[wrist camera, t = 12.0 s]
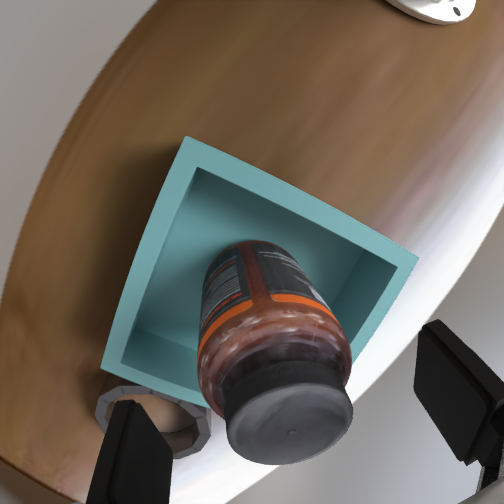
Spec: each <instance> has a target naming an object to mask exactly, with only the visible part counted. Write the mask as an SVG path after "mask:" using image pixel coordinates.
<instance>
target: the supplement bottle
mask: <svg viewBox="0 0 504 504" xmlns="http://www.w3.org/2000/svg"><path fill="white" fill-rule="evenodd" d="M351 367H352V352H351V347H350V343H349V341H348V339H347V336H346V334H345V332H344V330H343V329H342V327H341V326H340V324H339V323H338V321H337V320H336V318H335V316H334V314H333V313H332V311H331V310H330V308H329V307H328V306H327V304H326V303H325V301H324V300H323V298H322V297H321V295H320V294H319V292H318V291H317V290H316V288H315V287H314V285H313V284H312V282H311V281H310V279H309V278H308V277H307V275H306V274H305V272H304V271H303V270H302V268H301V267H300V265H299V264H298V262H297V261H296V260H295V259H294V258H293V257H292V255H290V253H288V252H287V251H286V250H285V249H283V248H281V247H280V246H278V245H276V244H273V243H271V242H267V241H259V240H252V241H244V242H240V243H237V244H234V245H232V246H230V247H228V248H226V249H225V250H223V251H222V252H221V253H220V254H219V255H218V256H217V257H216V258H215V259H214V260H213V261H212V263H211V264H210V266H209V268H208V270H207V271H206V274H205V278H204V282H203V287H202V301H201V313H200V324H199V339H198V351H197V376H198V382H199V387H200V390H201V393H202V395H203V398H204V399H205V401H206V403H207V404H208V405H209V406H210V407H211V409H212V410H213V411H214V412H215V413H216V414H218V415H219V416H220V417H221V418H223V419H224V420H225V422H226V432H227V438H228V441H229V444H230V445H231V447H232V449H233V450H234V451H235V452H236V453H237V454H239V455H240V456H242V457H243V458H245V459H248V460H250V461H253V462H256V463H260V464H265V465H284V464H293V463H297V462H301V461H304V460H307V459H311V458H313V457H315V456H317V455H319V454H321V453H323V452H325V451H326V450H328V449H329V448H331V447H332V446H334V445H335V444H336V443H337V441H339V440H340V439H341V438H342V436H343V435H344V434H345V433H346V432H347V430H348V428H349V426H350V424H351V422H352V419H353V417H352V416H353V407H352V404H351V401H350V399H349V397H348V395H347V393H346V390H345V386H346V384H347V382H348V379H349V376H350V373H351Z"/></svg>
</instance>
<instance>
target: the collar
mask: <svg viewBox="0 0 504 504" xmlns="http://www.w3.org/2000/svg"><path fill="white" fill-rule="evenodd" d="M125 394H152V395H155V396H158V397H160V398H163V399H166V400H169V401H172V402H175V403H178V404H179V405H180V406H181V407H182V408H184V409H185V410H186V411H187V412H188V413H190V414H191V415H192V416H193V417H194V418H196V421H195V423H194V424H193V426H190V427H188V428H186V429H184V430H181V431H179V432H177V433H161V435H162V436H163V438H164V439H165V440H166V442H167V443H168V444H169V446H170V447H171V449H172V452H173V459H181V458H183V457H186V456H189V455H191V454H194V453H197V452H199V451H201V449H202V448H203V447H204V445H205V444H206V442H207V441H208V439H209V438H210V436H211V411H210V408H207V407H204V406H201V405H197V404H194V403H191V402H188V401H185V400H182V399H179V398H176V397H173V396H170V395H167V394H164V393H161V392H159V391H156V390H153V389H150V388H148V387H145V386H143V385H140V384H137V383H135V382H132V381H130V380H127V379H125V378H122V377H120V376H118V375H115V374H113V373H112V374H110V375H109V376H107V378H106V381H105V383H104V386H103V388H102V391H101V393H100V395H99V398H98V402H97V407H96V411H95V417H96V419H97V421H98V423H99V425H100V427H101V428H102V430H103V432H104V434H105V433H106V430H107V427H108V424H109V421H110V418H111V414H112V411H113V408H114V405H115V403H114V401H113V400H115V399H117V398H119V397H121V396H123V395H125Z"/></svg>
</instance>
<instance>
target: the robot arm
mask: <svg viewBox="0 0 504 504" xmlns="http://www.w3.org/2000/svg"><path fill="white" fill-rule="evenodd" d="M386 1H388V2H389V3H390V4H392V5H393V6H395V7H397V8H398V9H400V10H402V11H403V12H405V13H407V14H409V15H411V16H413V17H416V18H418V19H420V20H423V21H426V22H429V23H433V24H440V25H448V24H455V23H457V22H460V21H463V20H464V19H466V18H467V17H469V16H470V15H471V13H472V11H473V10H474V7H475V2H476V0H386ZM414 392H415V394H416V396H417V397H418V399H419V401H420V402H421V403H422V405H423V406H424V408H425V410H427V412H428V414H429V416H430V417H431V419H432V420H433V422H434V423H435V425H436V426H437V428H438V429H439V431H440V433H441V434H442V436H443V437H444V438H445V440H446V442H447V444H448V445H449V447H450V448H451V450H452V451H453V453H454V455H455V456H456V458H457V459H458V460H459V461H464V463H465V464H466V466H468V465H469V464H471V463H473V462H474V461H476V460H478V461H479V463H480V464H481V466H482V468H481V472H480V476H479V481H478V485H477V489H476V493H475V494H474V495H472V496H471V497H469V498H467V499H466V500H464V501H462V502H461V503H459V504H504V382H503V381H502V380H501V379H500V378H499V377H498V376H497V375H496V374H495V373H494V372H493V371H492V370H491V368H490V367H488V366H487V364H486V363H485V362H484V361H483V360H482V359H481V358H480V357H479V356H478V355H477V354H476V353H475V352H474V351H473V350H472V349H470V348H469V347H468V346H467V345H466V344H465V343H464V342H462V340H461V339H459V337H457V336H456V335H455V334H454V333H453V332H452V331H451V330H450V329H449V328H448V327H447V326H446V325H445V324H444V323H443V322H442V321H441V320H439V319H437V320H434V321H432V322H430V323H427V324H425V325H423V327H422V330H421V331H419V334H418V346H417V358H416V368H415V378H414ZM172 464H173V452H172V449H171V447H170V446H169V444H168V443H167V442H166V440H165V439H164V438H163V436H162V435H161V433H160V432H159V431H158V429H157V428H156V426H155V425H154V423H153V422H152V420H151V419H150V418H149V416H148V415H147V413H146V412H145V410H144V409H143V407H142V405H141V404H140V403H136V402H135V401H134V400H122V401H117V402H116V403H115V405H114V408H113V411H112V414H111V418H110V421H109V424H108V427H107V430H106V433H105V437H104V440H103V443H102V446H101V449H100V452H99V456H98V459H97V463H96V466H95V470H94V474H93V477H92V481H91V485H90V488H89V492H88V496H87V500H86V504H169V497H170V486H171V474H172ZM72 504H84V503H72Z"/></svg>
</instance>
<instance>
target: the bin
mask: <svg viewBox="0 0 504 504" xmlns="http://www.w3.org/2000/svg"><path fill="white" fill-rule="evenodd" d="M252 240H259V241H267V242H271V243H273V244H276V245H278V246H280V247H281V248H283V249H285V250H286V251H287V252H288V253H290V255H292V257H293V258H294V259H295V260H296V261H297V262H298V264H299V265H300V267H301V268H302V270H303V271H304V272H305V274H306V275H307V277H308V278H309V279H310V281H311V282H312V284H313V285H314V287H315V288H316V290H317V291H318V292H319V294H320V295H321V297H322V298H323V300H324V301H325V303H326V304H327V306H328V307H329V308H330V310H331V311H332V313H333V314H334V316H335V318H336V320H337V321H338V323H339V324H340V326H341V327H342V329H343V330H344V332H345V334H346V336H347V339H348V341H349V343H350V347H351V352H352V364H353V363H354V361H355V360H356V359H357V357H358V356H359V354H360V353H361V352H362V350H363V349H364V347H365V346H366V344H367V343H368V341H369V340H370V338H371V337H372V335H373V334H374V332H375V331H376V329H377V328H378V326H379V325H380V323H381V322H382V320H383V319H384V317H385V315H386V314H387V312H388V311H389V309H390V308H391V306H392V304H393V303H394V301H395V299H396V298H397V296H398V294H399V293H400V291H401V289H402V288H403V286H404V284H405V283H406V281H407V279H408V277H409V276H410V274H411V272H412V270H413V268H414V267H415V265H416V263H417V261H418V259H419V257H418V256H416V255H414V254H413V253H411V252H409V251H408V250H406V249H405V248H403V247H401V246H400V245H398V244H396V243H395V242H393V241H391V240H390V239H388V238H386V237H385V236H383V235H381V234H379V233H378V232H376V231H374V230H373V229H371V228H369V227H367V226H366V225H364V224H362V223H360V222H359V221H357V220H355V219H353V218H352V217H350V216H348V215H346V214H344V213H343V212H341V211H339V210H337V209H335V208H334V207H332V206H330V205H328V204H326V203H324V202H322V201H321V200H319V199H317V198H315V197H313V196H311V195H309V194H307V193H305V192H304V191H302V190H300V189H298V188H296V187H294V186H292V185H290V184H288V183H286V182H284V181H282V180H280V179H278V178H276V177H274V176H272V175H270V174H268V173H266V172H264V171H262V170H260V169H258V168H256V167H254V166H252V165H250V164H247V163H245V162H243V161H241V160H239V159H237V158H235V157H233V156H231V155H228V154H226V153H224V152H222V151H220V150H217V149H215V148H213V147H211V146H209V145H206V144H204V143H202V142H200V141H197V140H195V139H193V138H190V137H188V136H185V138H184V140H183V143H182V145H181V147H180V149H179V151H178V153H177V155H176V158H175V160H174V162H173V164H172V166H171V169H170V171H169V173H168V175H167V178H166V180H165V182H164V184H163V187H162V189H161V192H160V194H159V196H158V199H157V201H156V203H155V206H154V208H153V211H152V213H151V216H150V218H149V221H148V223H147V226H146V228H145V231H144V234H143V236H142V239H141V241H140V244H139V247H138V249H137V252H136V255H135V258H134V260H133V263H132V266H131V269H130V272H129V275H128V278H127V280H126V283H125V286H124V289H123V292H122V295H121V299H120V302H119V305H118V308H117V311H116V314H115V318H114V321H113V324H112V328H111V331H110V334H109V338H108V341H107V345H106V349H105V352H104V356H103V360H102V363H101V367H100V368H101V369H104V370H106V371H108V372H111V373H113V374H115V375H118V376H120V377H122V378H125V379H127V380H130V381H132V382H135V383H137V384H140V385H143V386H145V387H148V388H150V389H153V390H156V391H159V392H161V393H164V394H167V395H170V396H173V397H176V398H179V399H182V400H185V401H188V402H191V403H194V404H197V405H201V406H204V407H207V408H211V407H210V406H209V405H208V404H207V403H206V401H205V399H204V398H203V395H202V393H201V390H200V387H199V382H198V376H197V351H198V339H199V324H200V313H201V301H202V287H203V282H204V278H205V274H206V271H207V270H208V268H209V266H210V264H211V263H212V261H213V260H214V259H215V258H216V257H217V256H218V255H219V254H220V253H221V252H222V251H223V250H225V249H226V248H228V247H230V246H232V245H234V244H237V243H240V242H244V241H252Z"/></svg>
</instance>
